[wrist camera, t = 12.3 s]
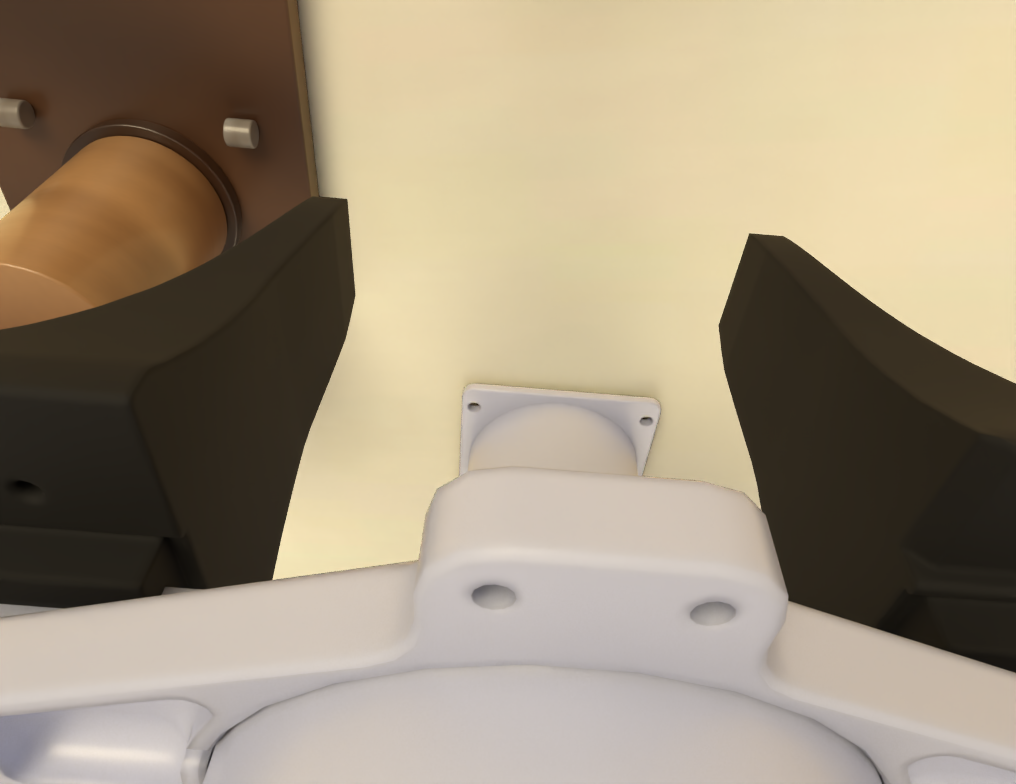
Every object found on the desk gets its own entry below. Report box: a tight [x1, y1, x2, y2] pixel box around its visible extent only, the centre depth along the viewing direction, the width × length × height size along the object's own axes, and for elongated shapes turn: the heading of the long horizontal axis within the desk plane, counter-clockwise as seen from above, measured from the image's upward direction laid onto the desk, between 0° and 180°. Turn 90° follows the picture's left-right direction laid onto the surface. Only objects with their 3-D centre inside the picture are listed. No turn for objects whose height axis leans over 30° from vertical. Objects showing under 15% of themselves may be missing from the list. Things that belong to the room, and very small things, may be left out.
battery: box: [0, 119, 242, 330], centre depth 20 cm, size 5×5×8 cm
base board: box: [0, 0, 319, 244], centre depth 21 cm, size 16×10×2 cm, turn 176°
